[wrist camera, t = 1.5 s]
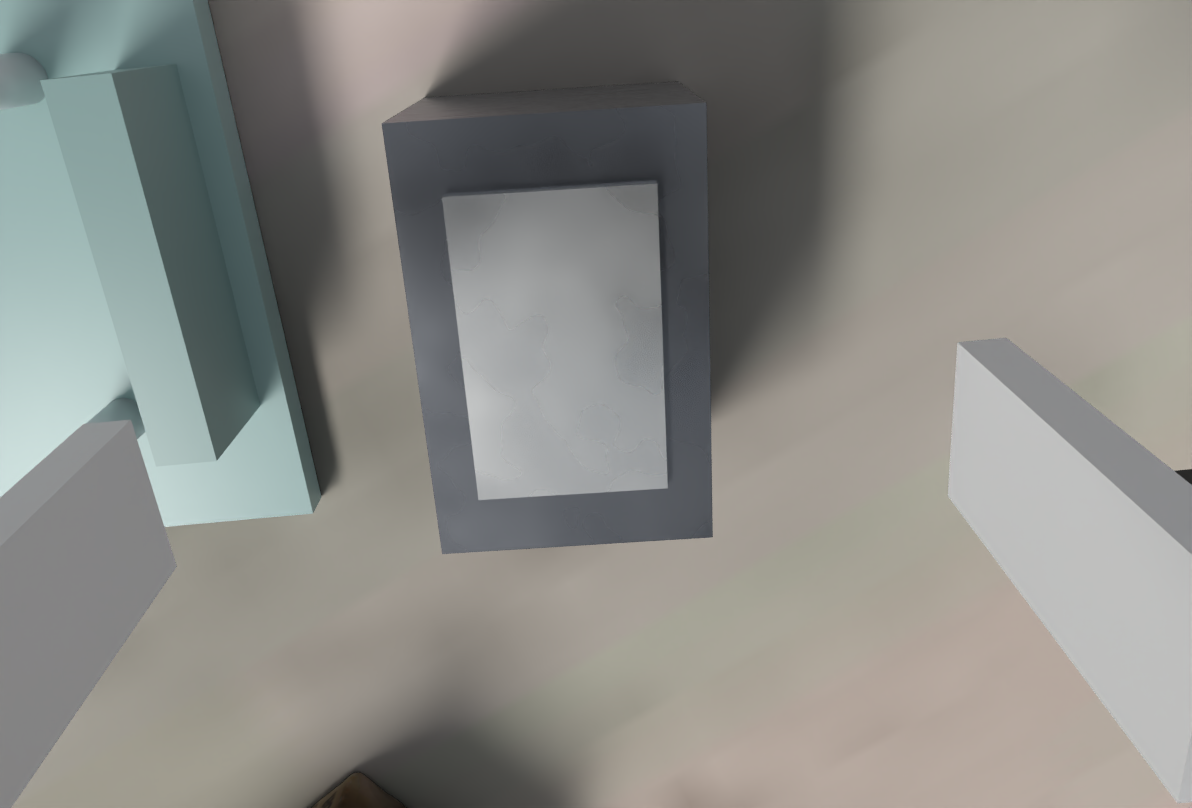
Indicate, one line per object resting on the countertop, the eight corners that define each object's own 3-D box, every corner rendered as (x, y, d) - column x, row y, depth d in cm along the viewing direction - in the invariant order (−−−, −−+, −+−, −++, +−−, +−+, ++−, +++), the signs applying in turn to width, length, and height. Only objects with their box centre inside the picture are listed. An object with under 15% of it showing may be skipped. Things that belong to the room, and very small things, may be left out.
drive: (685, 433, 28) (713, 541, 23) (468, 447, 28) (441, 558, 23) (676, 80, 25) (707, 103, 19) (425, 96, 25) (379, 124, 19)
